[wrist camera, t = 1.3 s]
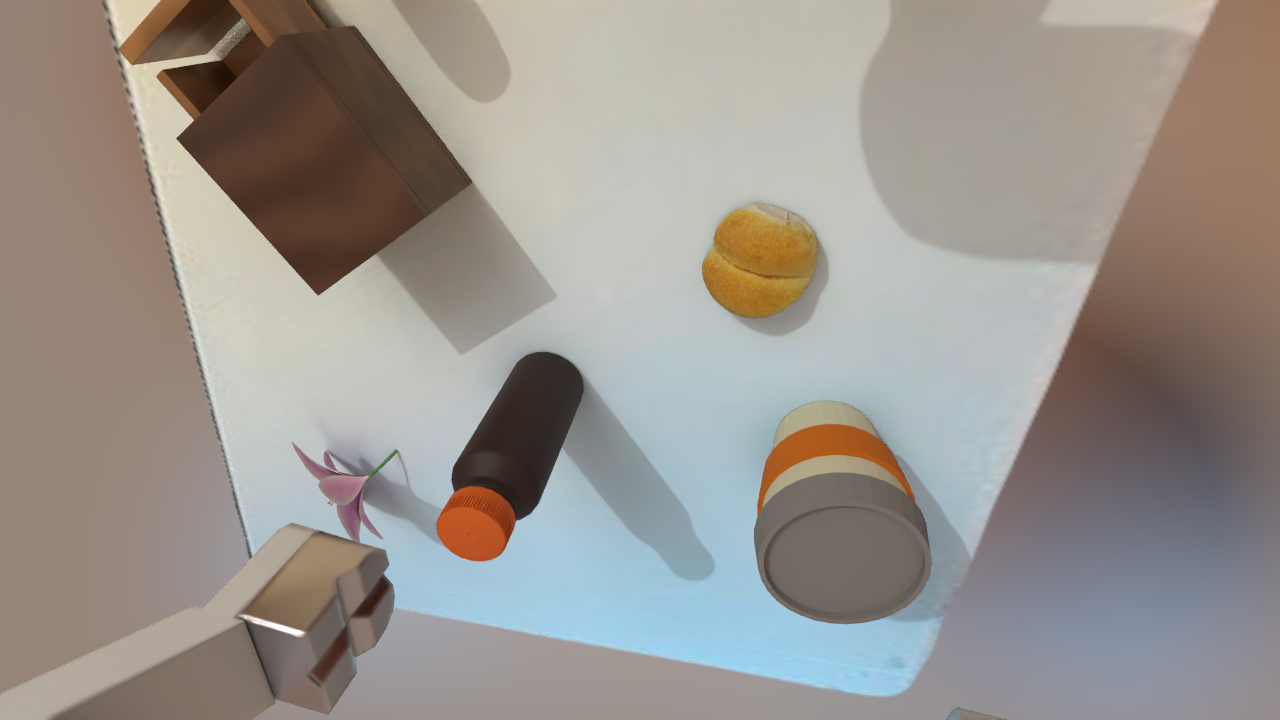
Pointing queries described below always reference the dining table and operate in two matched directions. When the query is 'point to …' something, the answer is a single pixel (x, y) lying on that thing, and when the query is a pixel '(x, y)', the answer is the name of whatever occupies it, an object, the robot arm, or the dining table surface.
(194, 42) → the drawer
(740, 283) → the bread roll
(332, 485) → the lily
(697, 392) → the dining table surface
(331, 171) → the cabinet
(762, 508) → the reusable coffee cup
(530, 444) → the bottle
